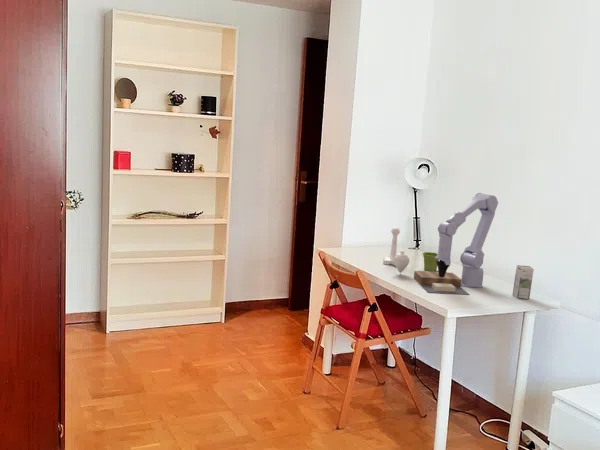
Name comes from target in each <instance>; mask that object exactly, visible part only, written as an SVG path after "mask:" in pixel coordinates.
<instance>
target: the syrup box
mask: <svg viewBox="0 0 600 450" xmlns="http://www.w3.org/2000/svg"><path fill="white" fill-rule="evenodd" d="M515 268H516V269H515V275H514V281H513V282H514V283H513V290H512V296H513V297H514V298H515V297H516V298H515V299H517V298H523V299H522V300H530V296H531V290H532V284H533V283H532V282H533V278H534V271H535V269H534V268H533V267H532V266H530V265H520V264H519V265H517V264H516V267H515Z"/></svg>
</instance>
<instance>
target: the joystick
mask: <svg viewBox="0 0 600 450" xmlns="http://www.w3.org/2000/svg"><path fill="white" fill-rule="evenodd" d="M390 231H391V232H390V233H391V234H392V241H391V246H390V247H391V249H390V255H389V257H383V260H382V263H383V264H384V265H386V264H387V266H389V265H393V266H395V264H394V257H395V256H396V255H397V248H398V247H397V245H398V237H399V235H400V233H401V230H400V228H399V227H398V226H393V227H392V228H391V230H390Z"/></svg>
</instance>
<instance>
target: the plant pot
mask: <svg viewBox="0 0 600 450" xmlns="http://www.w3.org/2000/svg"><path fill="white" fill-rule="evenodd" d="M437 254H438V252H431V251H429V252H427V251H425V252H422V257H423V268H424V269H423V271H431V272H437V269H438V266H437V263H436V261H439V259H435V257H437Z"/></svg>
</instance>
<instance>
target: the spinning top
mask: <svg viewBox="0 0 600 450" xmlns="http://www.w3.org/2000/svg"><path fill="white" fill-rule="evenodd" d="M394 264H395V265H394V266H395V267H396V270H397V271H398V273H399V275H401V273H403V271H404V270H406V268H407V267H408V265H409V264H410V257H409V256H408V254H406V253H405V250H400V252H399V253H396V256H395V257H394Z"/></svg>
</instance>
